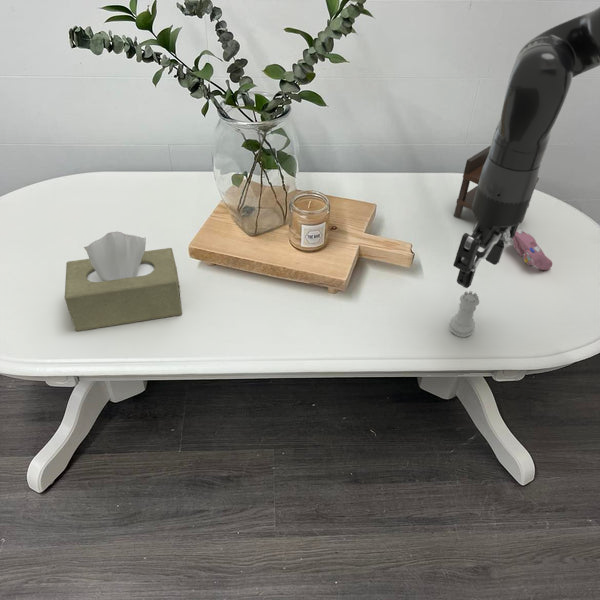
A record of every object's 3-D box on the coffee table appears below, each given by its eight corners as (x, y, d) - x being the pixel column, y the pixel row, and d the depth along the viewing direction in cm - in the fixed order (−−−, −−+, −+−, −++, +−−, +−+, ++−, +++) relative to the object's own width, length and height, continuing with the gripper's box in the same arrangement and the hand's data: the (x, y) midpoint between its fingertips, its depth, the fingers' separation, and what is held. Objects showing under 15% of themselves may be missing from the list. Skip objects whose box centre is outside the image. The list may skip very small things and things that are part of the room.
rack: (523, 221, 127) (543, 164, 118) (500, 239, 122) (519, 182, 112) (477, 199, 133) (492, 144, 124) (452, 216, 128) (466, 159, 118)
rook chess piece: (443, 323, 103) (452, 290, 97) (464, 317, 104) (474, 284, 98) (456, 340, 100) (466, 307, 94) (478, 334, 101) (489, 301, 95)
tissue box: (178, 280, 109) (167, 211, 99) (184, 315, 103) (173, 244, 92) (75, 295, 106) (52, 224, 95) (74, 332, 99) (49, 261, 88)
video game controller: (507, 250, 121) (502, 229, 116) (526, 239, 121) (522, 217, 116) (534, 280, 115) (530, 258, 110) (555, 268, 114) (551, 246, 109)
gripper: (502, 217, 76) (473, 305, 87) (553, 179, 84) (520, 264, 95) (455, 194, 80) (433, 281, 91) (507, 160, 88) (481, 244, 99)
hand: (477, 272), depth 93 cm, fingers open, 8 cm apart
